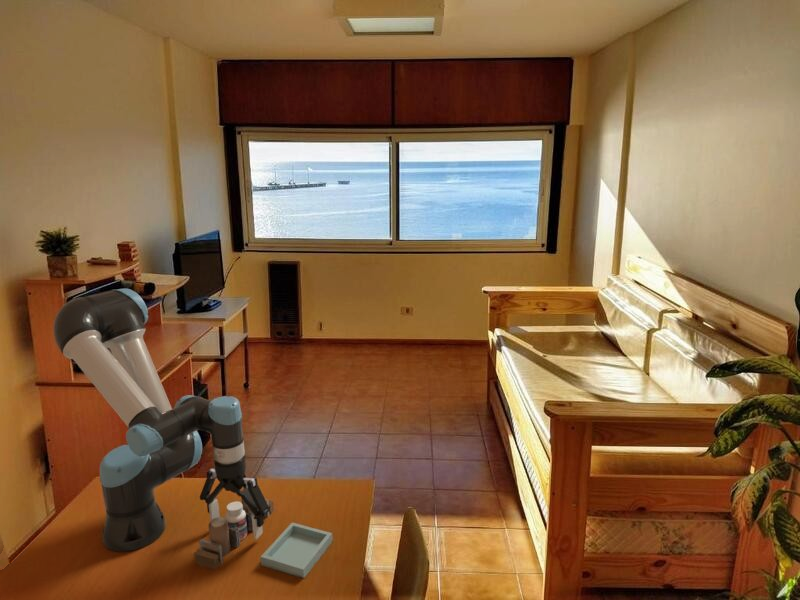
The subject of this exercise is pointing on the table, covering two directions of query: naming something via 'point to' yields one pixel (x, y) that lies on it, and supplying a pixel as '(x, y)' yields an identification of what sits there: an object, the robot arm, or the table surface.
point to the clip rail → (212, 551)
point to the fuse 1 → (220, 534)
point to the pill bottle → (237, 518)
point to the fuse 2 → (245, 506)
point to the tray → (297, 550)
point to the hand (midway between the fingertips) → (236, 529)
